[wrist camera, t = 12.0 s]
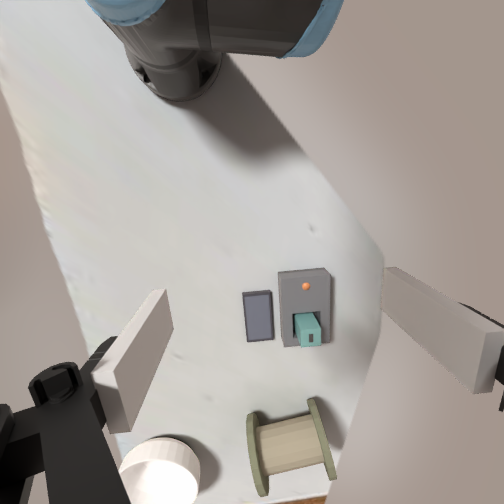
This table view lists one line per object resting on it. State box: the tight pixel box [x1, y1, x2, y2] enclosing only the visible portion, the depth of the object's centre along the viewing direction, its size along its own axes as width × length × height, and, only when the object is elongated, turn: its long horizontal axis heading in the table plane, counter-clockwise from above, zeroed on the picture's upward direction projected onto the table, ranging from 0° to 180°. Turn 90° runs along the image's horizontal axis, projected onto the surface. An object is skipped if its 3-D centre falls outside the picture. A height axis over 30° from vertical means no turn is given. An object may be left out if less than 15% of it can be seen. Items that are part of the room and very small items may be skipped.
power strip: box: [278, 268, 330, 347], centre depth 55 cm, size 16×10×4 cm, turn 4°
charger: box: [293, 312, 321, 347], centre depth 53 cm, size 4×4×7 cm
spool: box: [246, 398, 337, 497], centre depth 59 cm, size 16×15×15 cm
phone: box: [242, 290, 273, 342], centre depth 57 cm, size 6×12×1 cm, turn 4°
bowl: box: [118, 437, 200, 504], centre depth 63 cm, size 20×20×8 cm
